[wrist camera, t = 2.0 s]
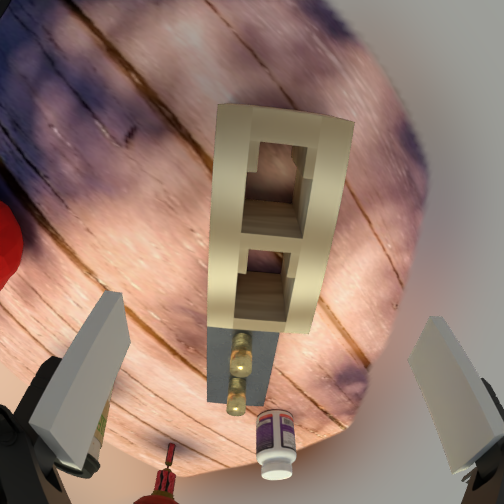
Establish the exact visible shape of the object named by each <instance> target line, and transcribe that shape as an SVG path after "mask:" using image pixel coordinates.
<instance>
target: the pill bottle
mask: <svg viewBox="0 0 504 504" xmlns="http://www.w3.org/2000/svg"><path fill="white" fill-rule="evenodd" d="M256 457H257V461H258V463H260V464H261V465H263V466H262V469H261V470H262V477H263V478H265V479H268V480H281V479H286V478H289V477H290V476H291V475H292V465H291V463H293V462H294V461H295V459H296V444H295V433H294V423H293V417H292V415H291V414H290V413H288V412H286V411H281V410H272V411H267V412H264V413H262V414H260V415H259V416H258V418H257V421H256Z"/></svg>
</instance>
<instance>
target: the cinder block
mask: <svg viewBox="0 0 504 504" xmlns="http://www.w3.org/2000/svg"><path fill="white" fill-rule="evenodd" d="M354 123H355V122H352V121H349V120H345V119H341V118H337V117H334V116H330V115H324V114H318V113H312V112H305V111H298V110H291V109H283V108H275V107H266V106H256V105H245V104H233V103H226V104H218V109H217V121H216V134H215V147H214V162H213V178H212V195H211V214H210V235H209V262H208V297H207V326H209V327H219V328H229V329H240V330H252V331H266V332H280V333H298V334H309V332H310V328H311V325H312V321H313V317H314V314H315V310H316V306H317V302H318V298H319V295H320V291H321V287H322V283H323V279H324V275H325V271H326V266H327V262H328V258H329V254H330V249H331V245H332V240H333V236H334V231H335V227H336V222H337V217H338V213H339V208H340V203H341V198H342V193H343V187H344V182H345V177H346V171H347V166H348V160H349V154H350V148H351V142H352V136H353V130H354ZM260 142H269V143H278V144H286V145H293V146H292V154H291V158H292V159H293V161H294V163H295V164H296V166H297V171H296V178H295V185H294V192H293V199H292V204H291V203H282V202H272V201H262V200H252V199H245V190H246V180H247V172H255V173H257V165H258V156H259V146H260ZM249 249H253V250H264V251H275V252H283V256H284V257H283V263H282V269H281V274H275V273H263V272H252V271H246V270H247V261H248V251H249Z"/></svg>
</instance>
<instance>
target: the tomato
mask: <svg viewBox="0 0 504 504" xmlns="http://www.w3.org/2000/svg"><path fill="white" fill-rule="evenodd" d="M22 251H23V237H22V233H21V228H20V226H19V224H18V222H17V220H16V219H15V217H14V215H13V213H12V211H11V209H10V208H9V206H7V205H6V204H5V203H3V202H2V201H1V200H0V291H1V290H2V289H3V287H4V286H5V284H6V282H7V281H8V279H9V278H10V277H11V276H12V275H13V274H14V273H15V272H16V271H17V269H18V267H19V265H20V262H21V256H22Z"/></svg>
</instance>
